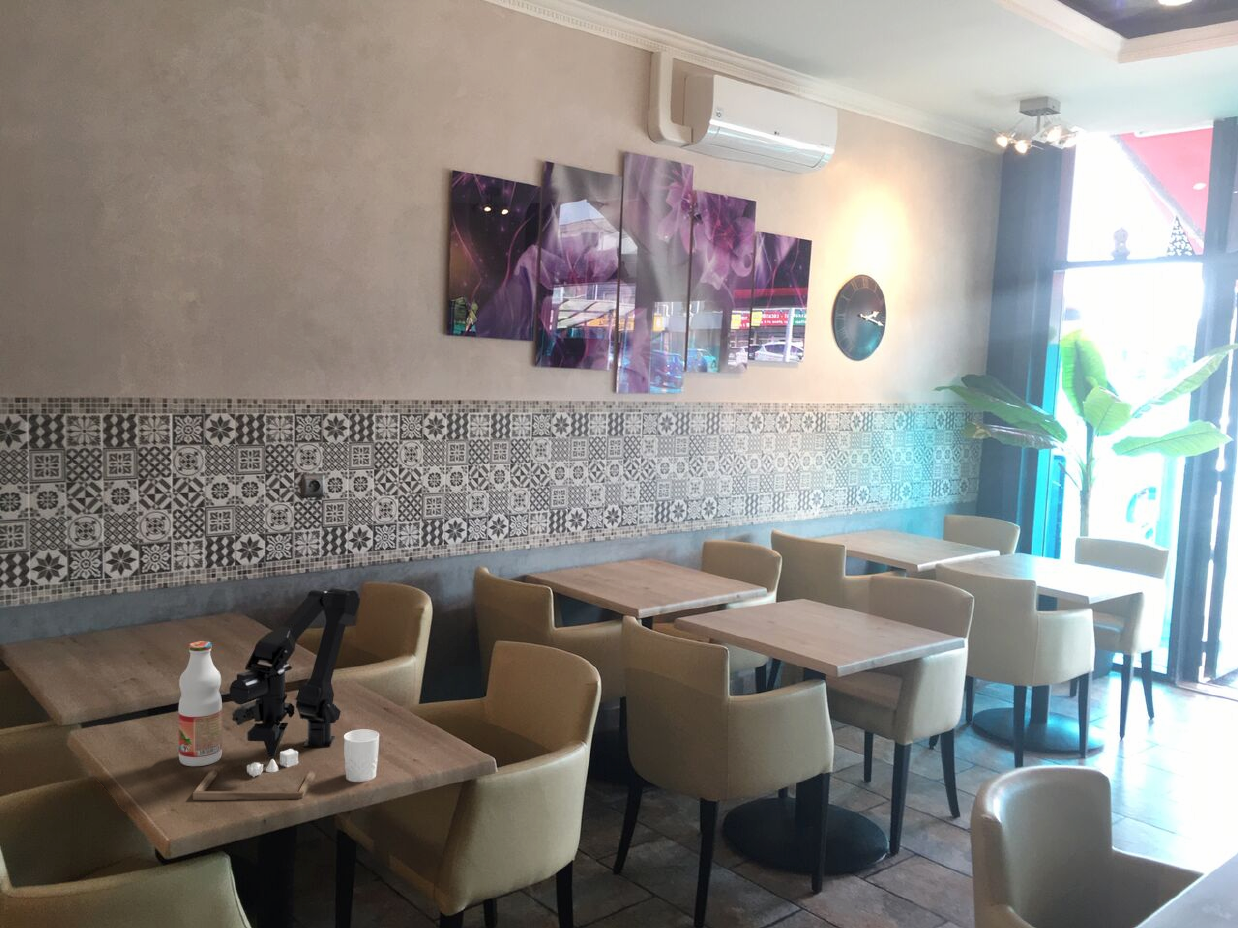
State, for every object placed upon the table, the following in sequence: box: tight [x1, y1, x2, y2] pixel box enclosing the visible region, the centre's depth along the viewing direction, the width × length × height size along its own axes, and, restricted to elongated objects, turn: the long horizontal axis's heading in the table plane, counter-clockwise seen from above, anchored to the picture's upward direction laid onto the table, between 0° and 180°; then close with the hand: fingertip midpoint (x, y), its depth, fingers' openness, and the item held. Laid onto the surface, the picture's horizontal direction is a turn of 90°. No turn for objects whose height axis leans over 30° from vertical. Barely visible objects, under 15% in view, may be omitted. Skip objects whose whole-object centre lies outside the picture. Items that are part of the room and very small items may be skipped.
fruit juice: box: [178, 640, 223, 767], centre depth 235 cm, size 9×9×28 cm
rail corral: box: [192, 768, 316, 801], centre depth 223 cm, size 13×23×2 cm, turn 95°
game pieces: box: [246, 748, 299, 778], centre depth 233 cm, size 12×3×3 cm, turn 141°
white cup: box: [343, 728, 380, 783], centre depth 230 cm, size 8×8×10 cm
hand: (271, 756), depth 236 cm, fingers closed
